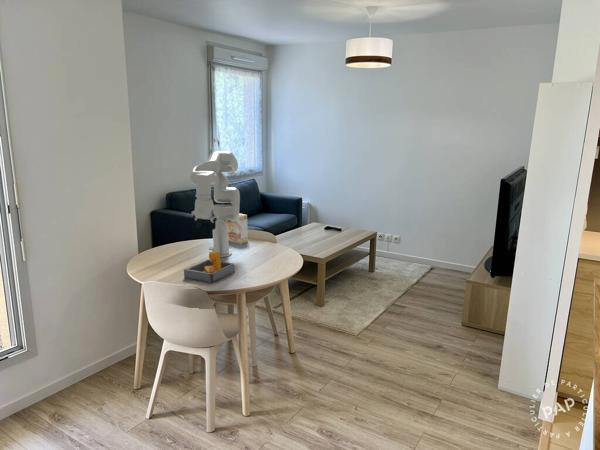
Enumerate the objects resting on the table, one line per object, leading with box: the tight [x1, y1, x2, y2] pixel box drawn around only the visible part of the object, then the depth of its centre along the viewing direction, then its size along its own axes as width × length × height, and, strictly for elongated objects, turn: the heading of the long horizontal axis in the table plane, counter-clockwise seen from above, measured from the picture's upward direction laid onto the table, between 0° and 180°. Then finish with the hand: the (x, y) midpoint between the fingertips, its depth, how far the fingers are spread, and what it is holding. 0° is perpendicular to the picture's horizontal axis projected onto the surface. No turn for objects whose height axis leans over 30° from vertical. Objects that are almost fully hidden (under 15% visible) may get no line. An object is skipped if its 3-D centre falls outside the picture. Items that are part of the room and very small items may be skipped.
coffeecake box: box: [225, 212, 249, 245], centre depth 306 cm, size 15×7×20 cm, turn 50°
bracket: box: [204, 251, 222, 273], centre depth 237 cm, size 11×7×12 cm, turn 23°
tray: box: [183, 259, 235, 285], centre depth 237 cm, size 18×20×5 cm
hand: (205, 228), depth 237 cm, fingers open, 9 cm apart
